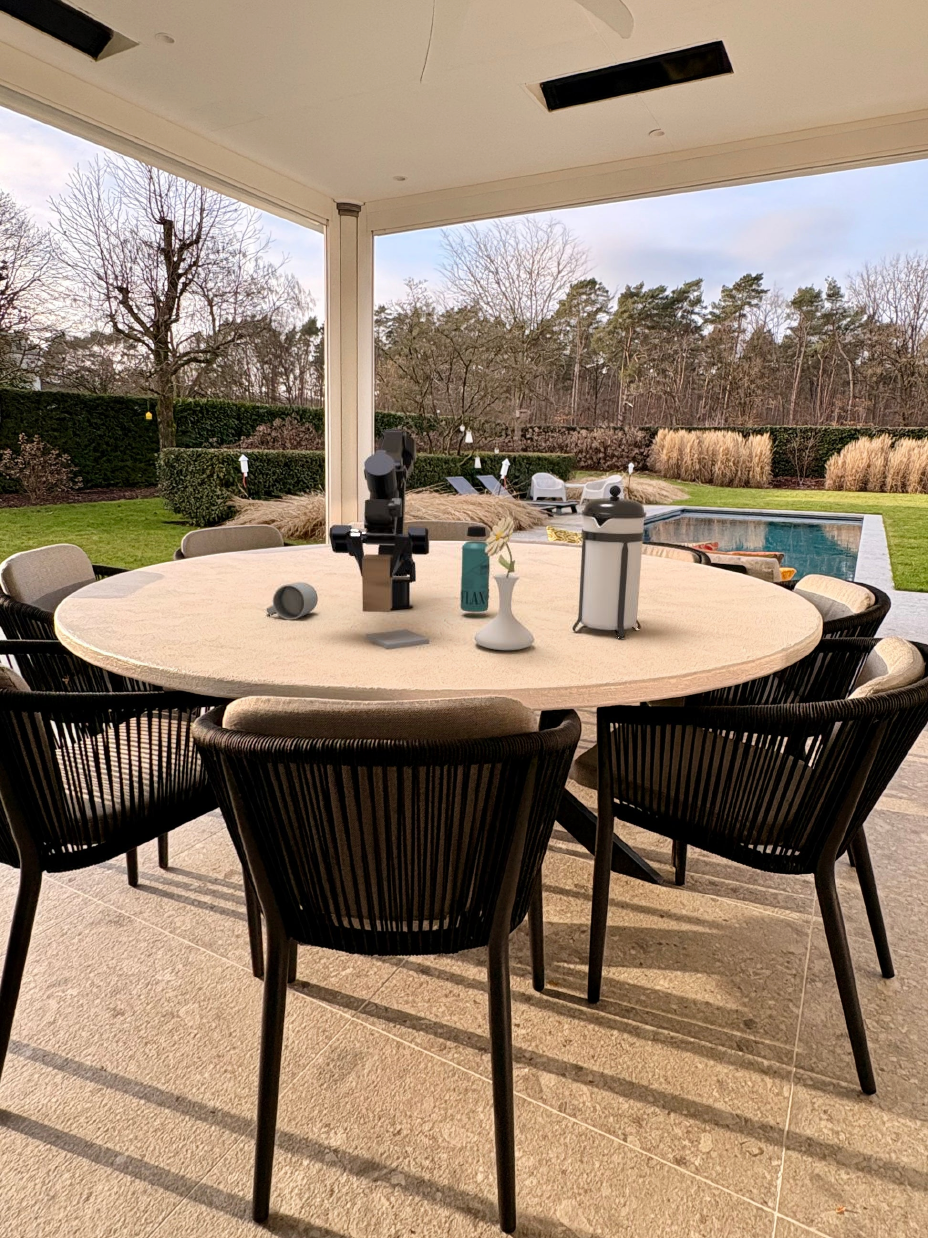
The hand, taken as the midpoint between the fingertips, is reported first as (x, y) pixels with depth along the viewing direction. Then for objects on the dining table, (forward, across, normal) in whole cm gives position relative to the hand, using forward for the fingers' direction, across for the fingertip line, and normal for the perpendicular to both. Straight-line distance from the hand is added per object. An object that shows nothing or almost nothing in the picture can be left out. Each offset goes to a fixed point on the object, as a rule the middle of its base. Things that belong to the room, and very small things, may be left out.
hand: (376, 575), depth 145 cm
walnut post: (+4, 0, +6) cm, 7 cm away
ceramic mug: (-7, -22, +26) cm, 35 cm away
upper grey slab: (+8, +4, +11) cm, 14 cm away
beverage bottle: (-10, +19, +29) cm, 36 cm away
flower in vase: (+10, +24, +9) cm, 28 cm away
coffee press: (-2, +46, +21) cm, 51 cm away
